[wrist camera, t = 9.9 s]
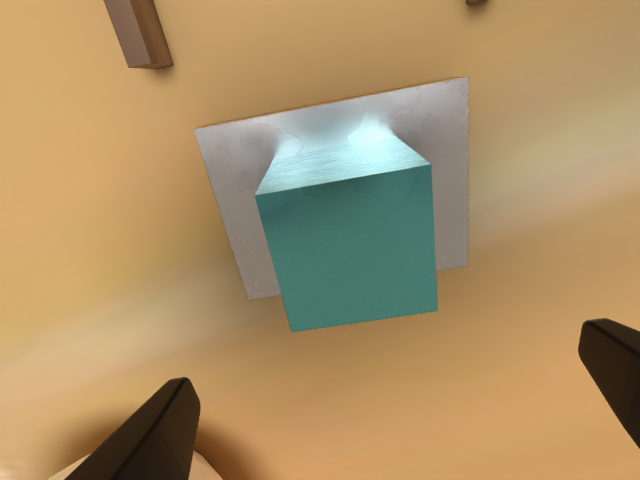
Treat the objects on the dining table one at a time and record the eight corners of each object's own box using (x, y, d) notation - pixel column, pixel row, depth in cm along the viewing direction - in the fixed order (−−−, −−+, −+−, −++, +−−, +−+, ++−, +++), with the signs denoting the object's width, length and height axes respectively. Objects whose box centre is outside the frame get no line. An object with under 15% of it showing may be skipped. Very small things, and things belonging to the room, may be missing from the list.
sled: (458, 76, 17) (546, 77, 10) (460, 256, 21) (523, 337, 15) (201, 126, 18) (133, 155, 11) (251, 289, 22) (223, 378, 16)
